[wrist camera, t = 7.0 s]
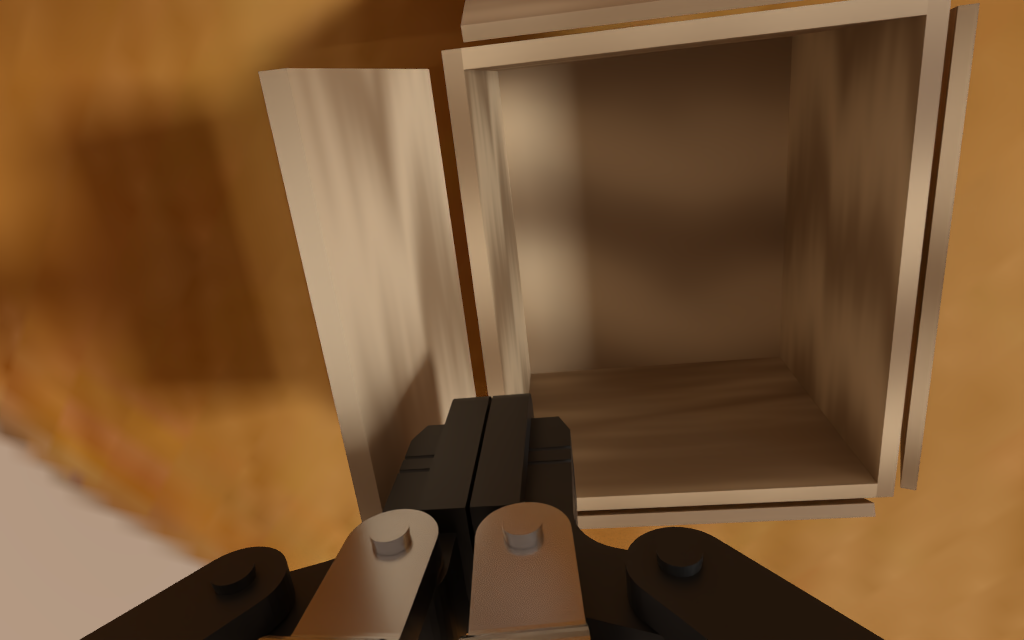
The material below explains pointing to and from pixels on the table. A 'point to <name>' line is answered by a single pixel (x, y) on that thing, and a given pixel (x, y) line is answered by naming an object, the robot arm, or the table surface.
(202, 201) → the table surface
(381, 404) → the front flap
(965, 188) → the table surface
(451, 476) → the robot arm
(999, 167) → the table surface
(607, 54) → the carton
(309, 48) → the table surface
